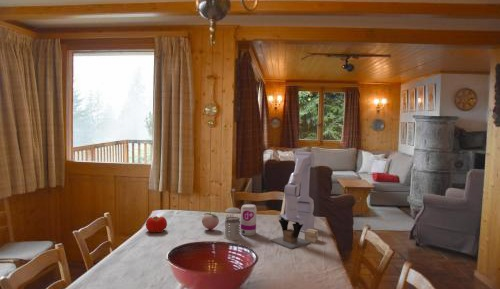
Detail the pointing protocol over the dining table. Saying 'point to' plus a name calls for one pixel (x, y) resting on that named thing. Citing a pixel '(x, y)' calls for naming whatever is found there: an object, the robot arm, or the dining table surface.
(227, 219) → the french press
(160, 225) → the tomato
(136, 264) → the dining table surface
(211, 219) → the decorative fruit
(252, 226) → the supplement can
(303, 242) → the slate trivet
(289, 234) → the walnut cube
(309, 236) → the maple cube
